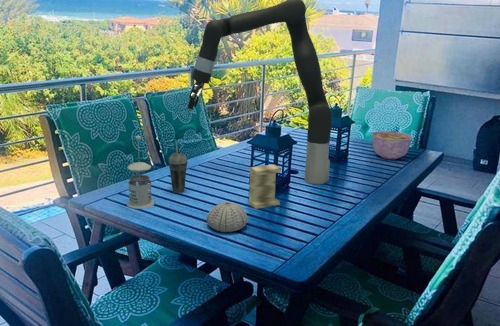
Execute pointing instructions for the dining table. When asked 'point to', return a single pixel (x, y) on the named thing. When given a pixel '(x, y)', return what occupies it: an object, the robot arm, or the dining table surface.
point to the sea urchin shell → (227, 217)
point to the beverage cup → (178, 171)
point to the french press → (139, 186)
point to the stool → (263, 186)
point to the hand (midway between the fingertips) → (191, 107)
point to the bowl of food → (391, 144)
